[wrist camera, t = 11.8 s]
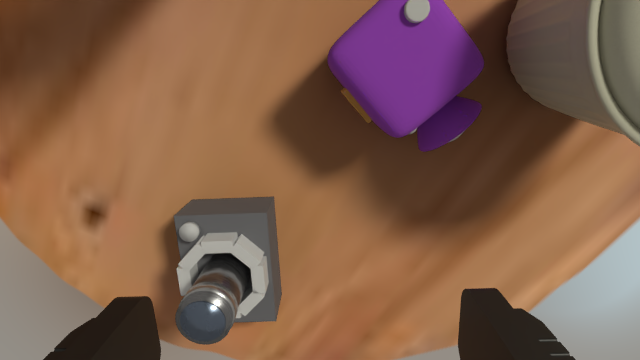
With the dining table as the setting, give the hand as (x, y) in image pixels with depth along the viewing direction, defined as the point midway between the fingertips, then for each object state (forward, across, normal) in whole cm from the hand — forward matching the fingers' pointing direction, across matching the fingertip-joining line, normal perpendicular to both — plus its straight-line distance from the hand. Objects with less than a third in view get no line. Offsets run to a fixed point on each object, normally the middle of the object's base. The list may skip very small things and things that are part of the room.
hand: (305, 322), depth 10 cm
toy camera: (+30, -8, -6) cm, 32 cm away
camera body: (+30, +10, +12) cm, 34 cm away
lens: (+25, +10, +12) cm, 29 cm away
